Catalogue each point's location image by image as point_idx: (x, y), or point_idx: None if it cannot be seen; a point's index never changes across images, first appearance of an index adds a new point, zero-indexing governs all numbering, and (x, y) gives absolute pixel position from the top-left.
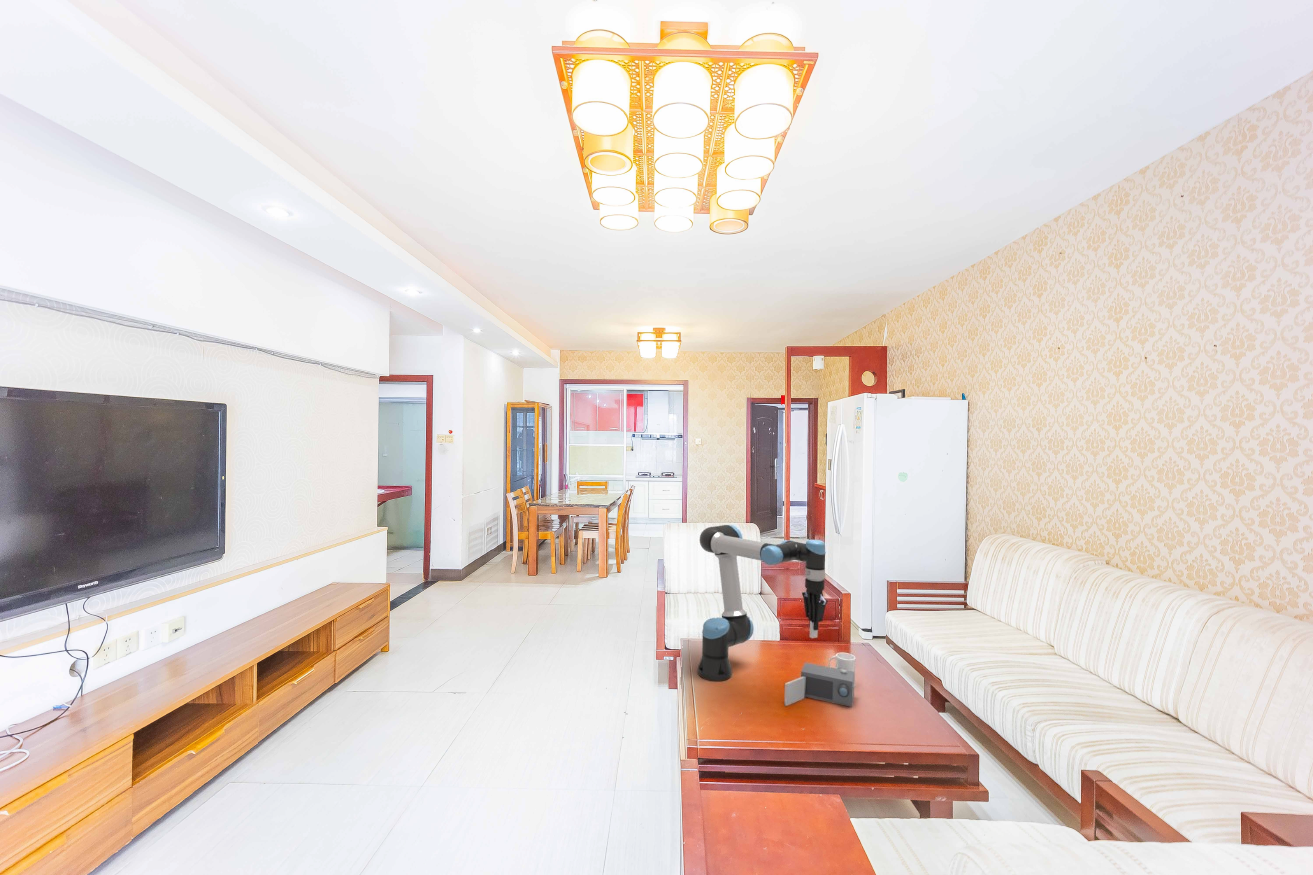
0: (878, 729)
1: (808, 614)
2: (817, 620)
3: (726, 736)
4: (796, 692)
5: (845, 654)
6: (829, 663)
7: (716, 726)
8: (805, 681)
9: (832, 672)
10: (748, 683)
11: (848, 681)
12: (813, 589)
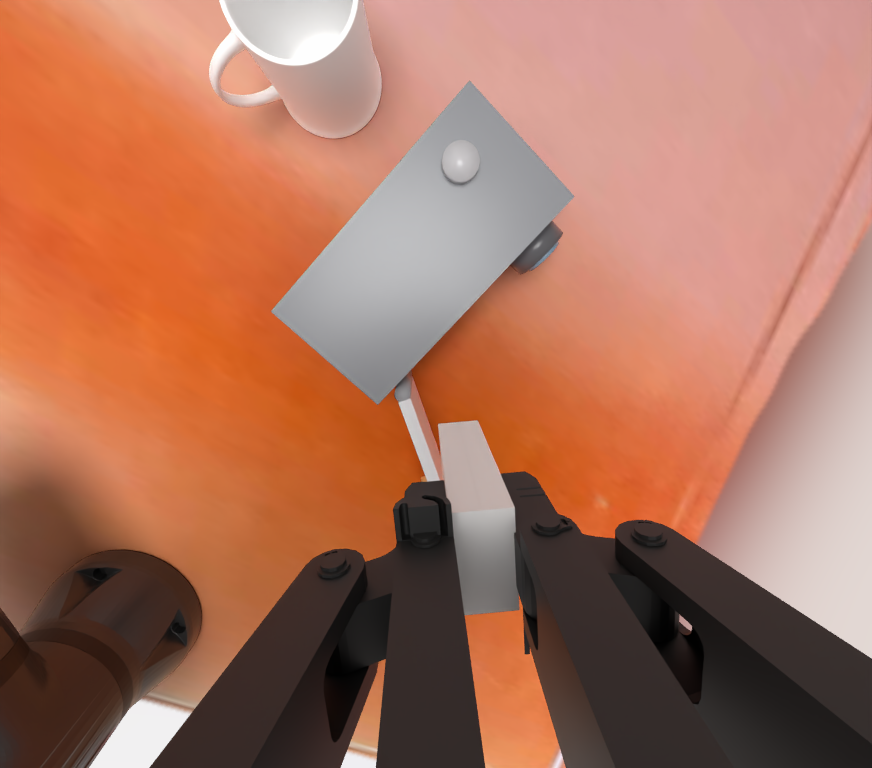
0: (712, 239)
1: (355, 657)
2: (669, 642)
3: None
4: (429, 434)
5: None
6: (226, 95)
7: (497, 731)
8: (409, 385)
9: (437, 234)
10: (240, 525)
11: (557, 214)
12: None
